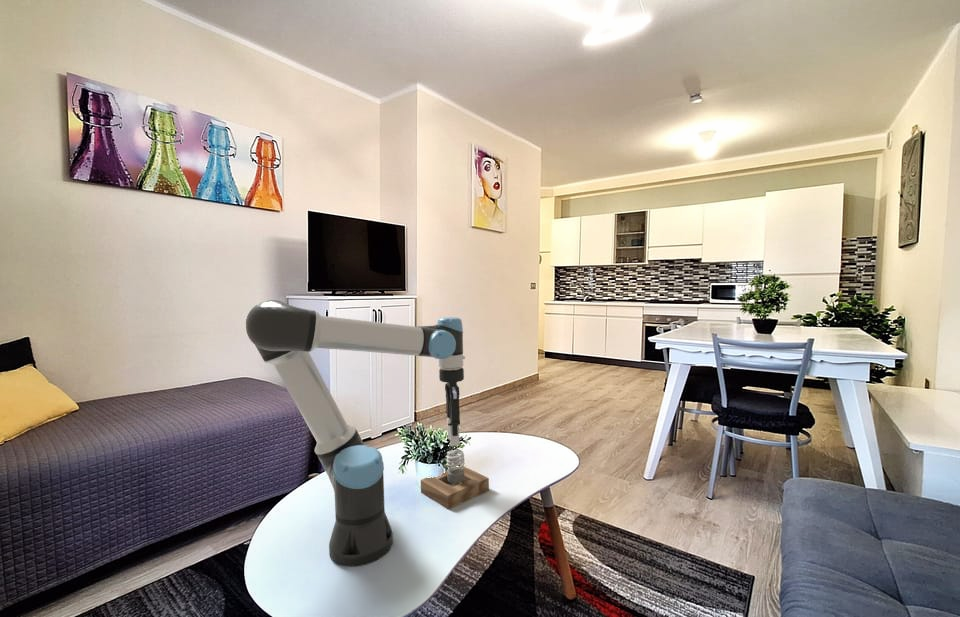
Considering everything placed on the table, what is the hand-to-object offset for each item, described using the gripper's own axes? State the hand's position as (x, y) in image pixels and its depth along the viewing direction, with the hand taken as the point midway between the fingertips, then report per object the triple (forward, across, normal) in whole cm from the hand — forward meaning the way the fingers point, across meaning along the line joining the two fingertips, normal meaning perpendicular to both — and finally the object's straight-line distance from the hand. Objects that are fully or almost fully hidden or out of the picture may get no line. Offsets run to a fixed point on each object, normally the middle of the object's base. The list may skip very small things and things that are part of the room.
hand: (453, 441), depth 129 cm
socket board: (+16, 0, 0) cm, 16 cm away
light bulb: (+15, 0, 0) cm, 15 cm away
